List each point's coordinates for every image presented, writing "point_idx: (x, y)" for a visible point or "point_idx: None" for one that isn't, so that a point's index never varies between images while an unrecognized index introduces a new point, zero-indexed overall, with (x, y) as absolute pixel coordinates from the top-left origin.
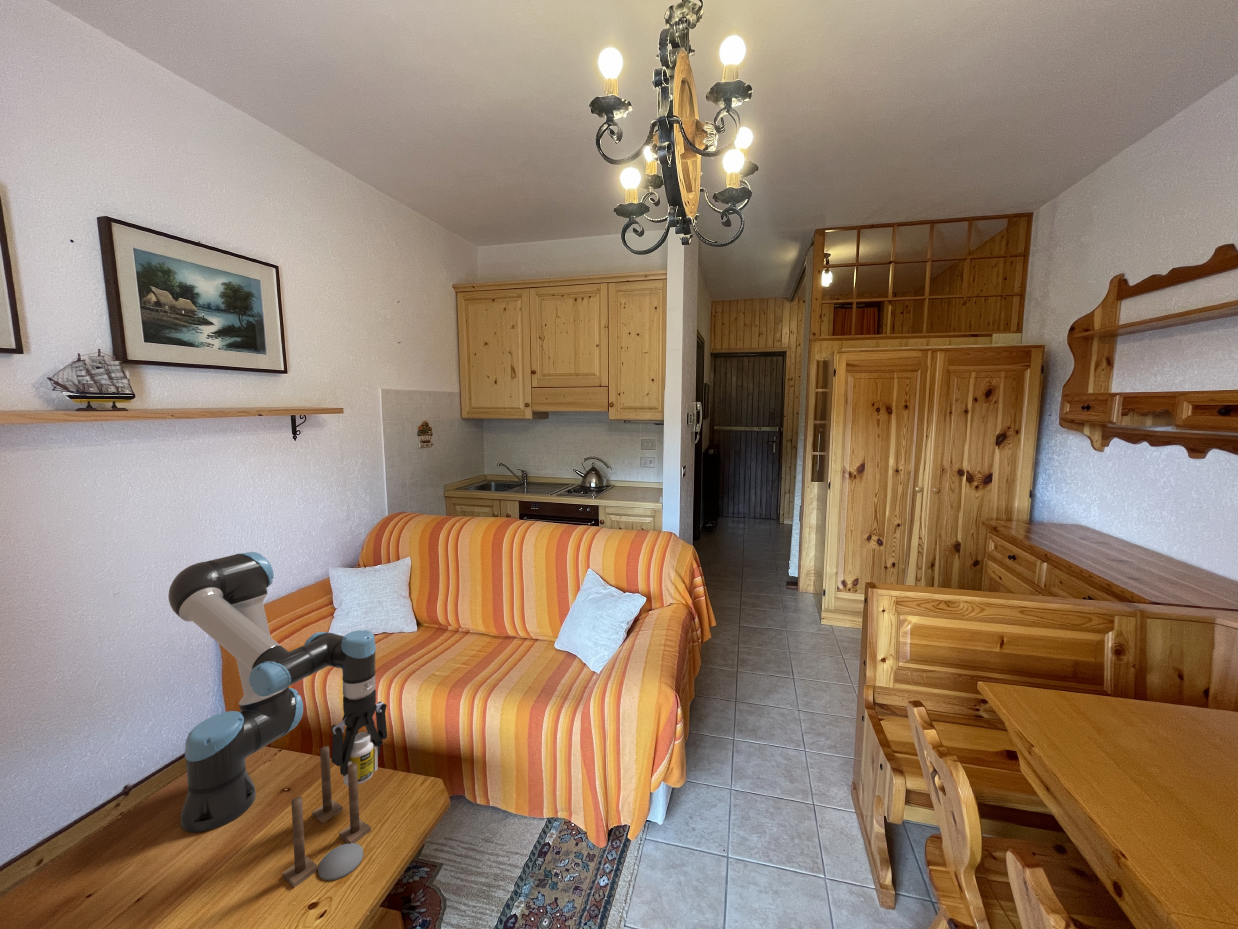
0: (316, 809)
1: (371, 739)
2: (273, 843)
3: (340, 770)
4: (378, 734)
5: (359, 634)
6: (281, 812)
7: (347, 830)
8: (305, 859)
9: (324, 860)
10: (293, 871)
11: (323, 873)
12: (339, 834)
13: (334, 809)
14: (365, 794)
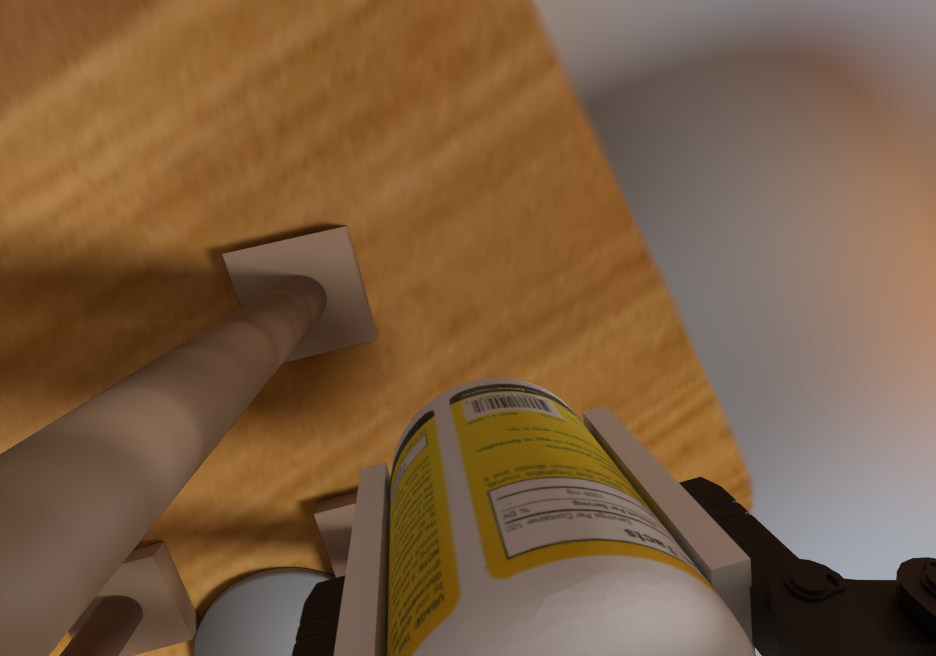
0: (247, 251)
1: (794, 653)
2: (16, 321)
3: (301, 631)
4: (930, 632)
5: None
6: (63, 64)
7: (349, 527)
8: (146, 575)
9: (225, 614)
10: (90, 608)
11: None
12: (316, 509)
13: (334, 330)
14: (510, 296)
